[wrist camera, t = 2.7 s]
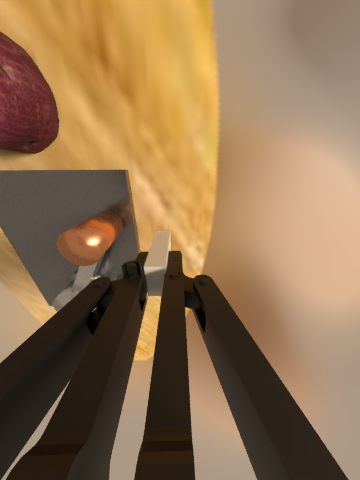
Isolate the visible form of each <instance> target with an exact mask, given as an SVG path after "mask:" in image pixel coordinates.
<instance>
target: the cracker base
mask: <svg viewBox="0 0 360 480" xmlns="http://www.w3.org/2000/svg"><path fill="white" fill-rule="evenodd" d="M101 211H110V212H113V213H115V214H116V215H117V216H119V218H120V219H121V220H122V223H123V231H122V233H121V234H120V235H119V237H118V238H117V239H116V240H115V241H114V242H113V244H112V245H111V246H110V247H109V248H108V249H107V251H106V252H105V254H104V257H103V259H102V262H101V264H100V267H99V269H98V272H97V275H96V277H95V279H97V278H99V277H109V278H110V279H111V281H114V280H118V279H121V278H123V271H122V267H121V266H122V265H123V264H124V263H125V262H128V261H132V260H135V259H136V257H137V255H138V254H139V253H140V245H139V239H138V232H137V226H136V219H135V213H134V206H133V200H132V193H131V187H130V180H129V174H128V170H18V171H0V226H1V228H2V230H3V231H4V233H5V235H6V236H7V238H8V239H9V241H10V243H11V244H12V246H13V248H14V249H15V251H16V252H17V254H18V256H19V257H20V259H21V260H22V262H23V264H24V265H25V267H26V269H27V270H28V272H29V273H30V275H31V277H32V278H33V280H34V282H35V283H36V285H37V286H38V288H39V290H40V291H41V293H42V294H43V296H44V298H45V299H46V301H47V303H48V304H49V306H53V300H54V299H55V298H56V297H57V296H58V295H59V294H60V293H61V292H62V290H63V289H64V288H65V287H66V286H67V285H68V284H69V283H70V282H71V281H72V280H73V279H75V278H76V275H77V272H78V269H79V265H76V264H73V263H71V262H69V261H68V260H66V259H65V258H64V257H63V256H62V255H61V254H60V252H59V250H58V248H57V239H58V237H59V236H60V235H61V234H62V233H63V232H65V231H67V230H69V229H71V228H72V227H74V226H76V225H78V224H79V223H81V222H83V221H85V220H86V219H88V218H90V217H92V216H93V215H95V214H97V213H99V212H101ZM146 299H148V298H147V294H146ZM146 303H147V302H146Z"/></svg>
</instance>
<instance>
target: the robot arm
mask: <svg viewBox="0 0 360 480" xmlns="http://www.w3.org/2000/svg"><path fill="white" fill-rule="evenodd" d="M121 267H122V271H123V278H121V279H118V280H114V281H111V279H110V278H109V277H99V278H97V279H94V280H93V281H92V282H90V283H89V284H88V285H87V286H86V287H85V288H84V289H83V290H81V291H80V292H79V293H78V294H77V295H76V296H75V297H74V298H73V299H71V300H70V301H69V302H68V303H67V304H66V305H65V306H64V307H63V308H61V309H60V310H59V311H58V312H57V313H56V314H55V315H54V316H53V317H51V318H50V319H49V320H48V321H47V322H46V323H45V324H44V325H42V326H41V328H39V329H38V330H37V331H36V332H35V333H34V334H33V335H32V336H30V337H29V338H28V339H27V340H26V341H25V342H24V343H22V344H21V345H20V346H19V347H18V348H17V349H16V350H15V351H14V352H12V353H11V354H10V355H9V356H8V357H7V358H6V359H5V360H3V361H2V362H1V363H0V480H1V479H2V477H3V476H4V475H5V473H6V472H7V470H8V469H9V467H10V466H11V464H12V463H13V462H14V460H15V458H16V457H17V456H18V454H19V453H20V451H21V450H22V449H23V447H24V446H25V444H26V443H27V441H28V440H29V438H30V437H31V435H32V434H33V433H34V431H35V430H36V428H37V427H38V425H39V424H40V423H41V421H42V420H43V418H44V417H45V415H46V414H47V413H48V411H49V409H50V408H51V407H52V405H53V404H54V402H55V401H56V400H57V398H58V397H59V395H60V393H61V392H62V391H63V389H64V388H65V387H66V385H67V384H68V382H69V381H70V382H69V384H68V386H67V388H66V390H65V392H64V394H63V396H62V398H61V400H60V402H59V404H58V406H57V408H56V409H55V411H54V414H53V415H52V417H51V419H50V422H49V423H48V425H47V427H46V429H45V431H44V433H43V435H42V436H41V438H40V440H39V441H38V442H37V443H36V445H35V446H34V447H33V448H31V449H30V450H29V451H28V452H27V453H26V454H25V455H23V457H21V459H20V460H19V461H18V462H17V464H16V465H15V466H14V468H13V469H12V470H11V472H10V473H9V475H8V477H7V478H6V480H109V469H110V459H111V454H112V449H113V445H114V440H115V436H116V432H117V428H118V423H119V419H120V415H121V410H122V406H123V402H124V397H125V393H126V389H127V384H128V380H129V376H130V371H131V366H132V363H133V358H134V354H135V350H136V345H137V341H138V337H139V332H140V328H141V324H142V319H143V315H144V311H145V306H146V302H147V299H146V294H147V293H148V296H162V297H161V305H160V313H159V321H158V329H157V336H156V344H155V352H154V360H153V368H152V376H151V384H150V391H149V400H148V407H147V416H146V422H145V430H144V436H143V441H142V445H141V448H140V451H139V456H138V461H137V466H136V472H135V478H134V480H195V470H194V455H193V444H192V432H191V415H190V395H189V376H188V359H187V358H188V357H187V339H186V319H185V307H187V308H191V309H192V310H193V313H194V316H195V318H196V321H197V323H198V326H199V329H200V331H201V334H202V336H203V339H204V342H205V344H206V347H207V350H208V352H209V355H210V357H211V360H212V362H213V365H214V368H215V370H216V373H217V376H218V378H219V381H220V383H221V386H222V389H223V391H224V394H225V397H226V399H227V402H228V404H229V407H230V410H231V412H232V415H233V418H234V420H235V423H236V425H237V428H238V430H239V433H240V436H241V438H242V441H243V444H244V446H245V449H246V451H247V454H248V457H249V459H250V462H251V464H252V467H253V470H254V472H255V475H256V477H257V480H348V478H347V477H346V475H345V474H344V473H343V471H342V470H341V468H340V467H339V465H338V464H337V462H336V461H335V459H334V458H333V456H332V455H331V453H330V452H329V450H328V449H327V448H326V446H325V444H324V443H323V442H322V440H321V439H320V437H319V436H318V434H317V433H316V431H315V430H314V428H313V427H312V425H311V424H310V422H309V421H308V419H307V418H306V417H305V415H304V413H303V412H302V411H301V409H300V408H299V406H298V405H297V403H296V402H295V400H294V399H293V398H292V396H291V394H290V393H289V391H288V390H287V388H286V387H285V386H284V384H283V383H282V381H281V380H280V378H279V377H278V375H277V374H276V372H275V371H274V369H273V368H272V366H271V365H270V363H269V362H268V360H267V359H266V357H265V356H264V354H263V353H262V352H261V350H260V349H259V347H258V346H257V345H256V343H255V341H254V340H253V338H252V337H251V335H250V334H249V332H248V331H247V330H246V328H245V327H244V325H243V324H242V322H241V321H240V319H239V318H238V316H237V315H236V313H235V312H234V310H233V309H232V307H231V306H230V304H229V303H228V301H227V300H226V298H225V297H224V295H223V294H222V293H221V291H220V290H219V288H218V287H217V286H216V284H215V282H214V281H213V279H212V278H211V277H209V276H207V275H198V276H196V277H195V278H190V277H187V276H186V275H184V273H183V269H182V254H181V252H180V251H171V241H170V230H156V233H155V236H154V239H153V242H152V245H151V247H150V250H149V252H140V253H139V254H138V255H137V257H136V259H135V260H132V261H128V262H125V263H124V264H123V265H122V266H121ZM95 308H96V309H95ZM94 309H95V310H94ZM93 310H94V311H93ZM92 311H93V312H92ZM70 379H71V380H70Z"/></svg>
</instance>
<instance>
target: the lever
mask: <svg viewBox="0 0 360 480" xmlns="http://www.w3.org/2000/svg"><path fill="white" fill-rule="evenodd" d="M122 231H123V223H122V220H121V219H120V218H119V216H117V215H116V214H115V213H113V212H110V211H101V212H99V213H97V214H95V215H93V216H92V217H90V218H88V219H86V220H85V221H83V222H81V223H79V224H78V225H76V226H74V227H72V228H71V229H69V230H67V231H65V232H63V233H62V234H61V235H60V236H59V237H58V239H57V248H58V250H59V252H60V254H61V255H62V256H63V257H64V258H65V259H66V260H68V261H69V262H71V263H73V264H76V265H79V269H78V272H77V275H76V278H75V279H73V280H72V281H71V282H70V283H69V284H68V285H67V286H66V287H65V288H64V289H63V290H62V292H61V293H60V294H59V295H58V296H57V297H56V298H55V299H54V300H53V306H54V308H55V310H56V311H57V312H58V311H59V310H60V309H61V308H63V307H64V306H65V305H66V304H67V303H68V302H69V301H70V300H71V299H73V298H74V297H75V296H76V295H77V294H78V293H79V292H80V291H81V290H83V289H84V288H85V287H86V286H87V285H88V284H89V283H90V282H92V281H93V280H94V279H95V277H96V275H97V272H98V269H99V267H100V264H101V262H102V259H103V257H104V254H105V252H106V251H107V249H108V248H109V247H110V246H111V245H112V244H113V242H114V241H115V240H116V239H117V238H118V237H119V235H120V234H121V233H122Z"/></svg>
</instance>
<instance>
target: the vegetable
mask: <svg viewBox="0 0 360 480" xmlns="http://www.w3.org/2000/svg"><path fill="white" fill-rule="evenodd" d="M58 128H59V119H58V113H57V107H56V103H55V99H54V95H53V93H52V91H51V88H50V87H49V85H48V83H47V82H46V80H45V79H44V77H43V75H42V73H41V72H40V70H39V69H38V67H37V65H36V64H35V63H34V61H33V60H32V58H31V57H30V56H29V54H28V53H27V52H26V51H25V50H24V49H23V48H22V47H21V46H19V45H18V44H17V43H15V42H14V41H13V40H12V39H10V38H9V37H8V36H6V35H5V34H3V33H2V32H0V149H6V150H13V151H21V152H29V153H36V152H41V151H42V150H44V149H45V148H46V147H48V146H49V145H50V144H51V143H52V142H53V141H54V140H55V138H56V137H57V135H58Z"/></svg>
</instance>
